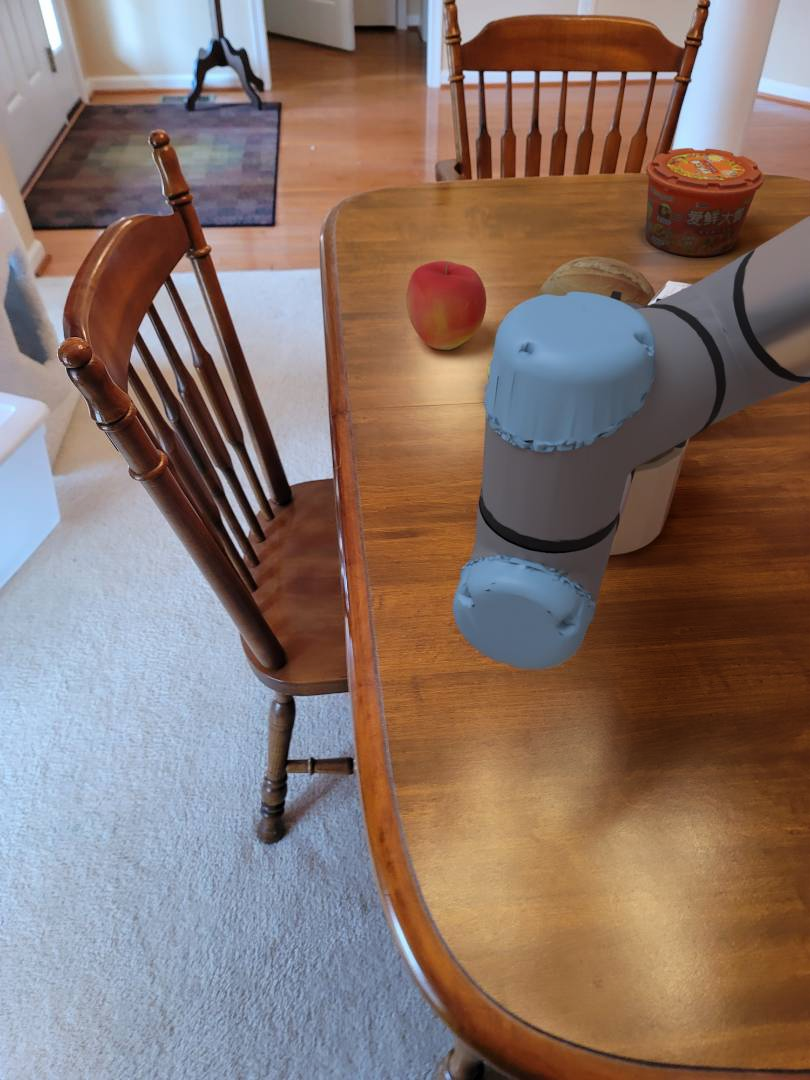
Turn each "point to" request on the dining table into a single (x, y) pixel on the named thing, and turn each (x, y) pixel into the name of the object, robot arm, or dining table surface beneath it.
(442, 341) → the apple
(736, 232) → the food container
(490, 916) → the dining table surface
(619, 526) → the pot
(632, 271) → the bread roll
